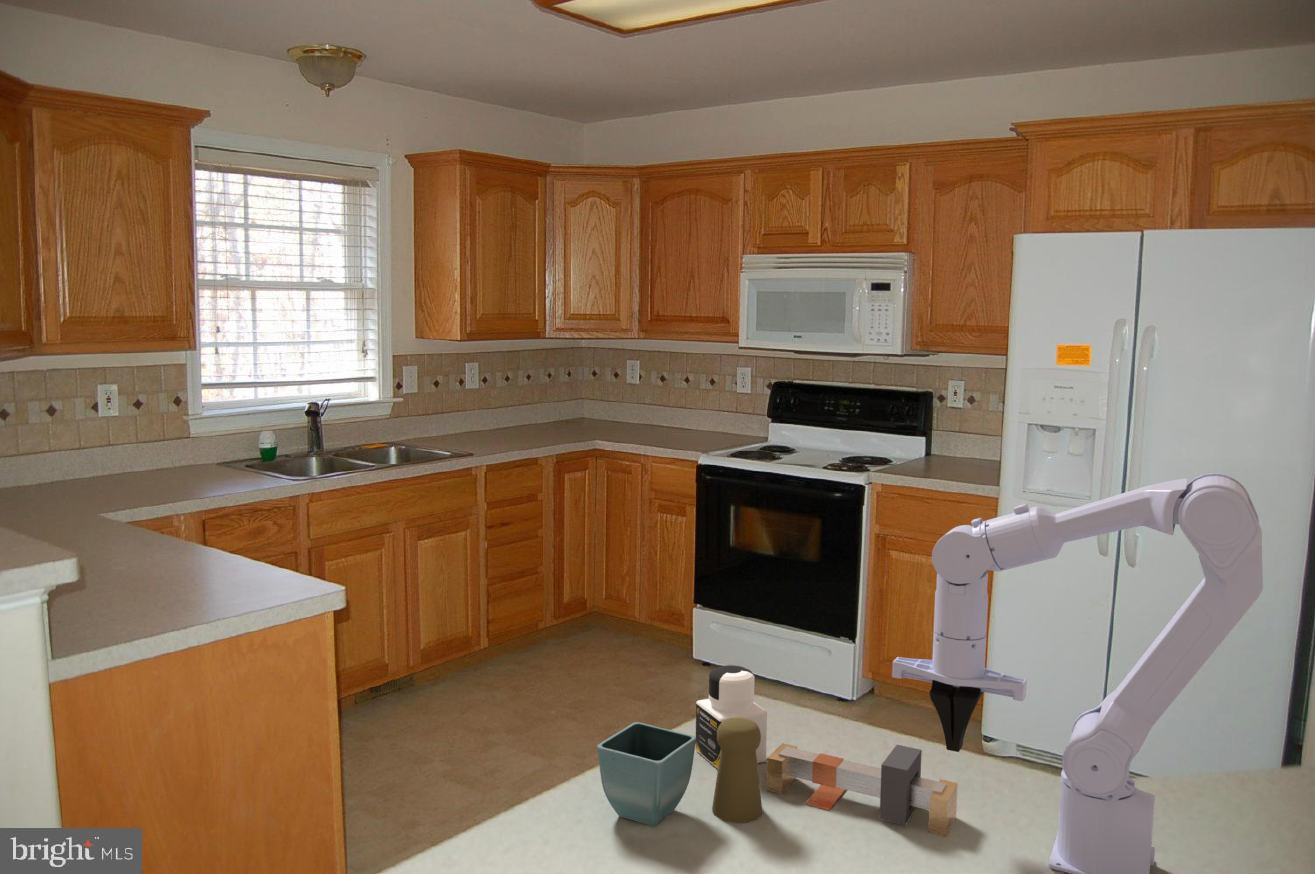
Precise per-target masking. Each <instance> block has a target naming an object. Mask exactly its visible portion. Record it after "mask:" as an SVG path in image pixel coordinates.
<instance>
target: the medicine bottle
mask: <svg viewBox="0 0 1315 874" xmlns="http://www.w3.org/2000/svg"><path fill="white" fill-rule="evenodd" d="M755 677H756V676H755V674H754V673H753V672H752V671H751V670H750V669H748V668H746V667H743V666H740V665H735V664H734V665H733V664H728V665H721V666H718V667H716V668H713V669H711V671H710V672H709V674H708V698H705V699H699V700H697V701H696V702H695V703H696V704H695V737H696V744H695V751H697V753H699V754H700V755H701V756H702V757H703V758H704V759H706V760H707V762H709V763H710V764H711V765H712V766H713V767H714V768H716V769H717V770H718V766H719V760H720V753H721V748H720V746H719V745H718V741H717V730H718V727H719V725H720V724H721V723H722V721H724V720H726V719H729V718H736V717H737V718H746V719H749V720H751V721H753V722H755V723H756V724H757V725H758V727H759V729H760V733H761V741H760V745H759V747H758V748H757V749H756V758H757V764H762V763H765V762H767V743H768V742H767V741H768V738H767V737H768V736H767V735H768V734H767V732H768V729H767V728H768V712H767V710H766V709H764V708H763V707H761V706H760V705H758V704H757V703H755Z"/></svg>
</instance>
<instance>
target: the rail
mask: <svg viewBox="0 0 1315 874" xmlns="http://www.w3.org/2000/svg"><path fill="white" fill-rule="evenodd" d="M796 779H801V780H804V781H809V782H811V783H813V784H816V785H819V786H818V787H817V789H816V790H815V791H814V792H813V793H812V795H811V796H810V797H809V798H808V799H807V800H806V802H805V805H807V806H811V807H814V808H818V809H822V810H826V811H830V810H832V808H833V806H834V805H835V804H836V802H837V801H838V800H839V799H840V798H841V797H842V795H843V794H844V793H845V791H849V792H853V793H858V794H862V795H867V796H869V797H875V798H878V799H880V792H881V767H878V766H877V767H876V766H872V765H868V764H865V763H864V764H863V763H859V762H856V761H850V760H847V759H844V758H843V757H839V756H838V757H837V756H833V755H829V754H825V753H821V752H820V753H816V752H812V751H809V750H808V751H807V750H802V749H798V746H797V745H792V744H789V743H784V742H782V743H781V744H780V745H779V746H778V747H777V748H776V749H775V750H774V751H772V752H771V753H770V755H768V757H766V791H768V792H774V793H776V794H779V795H782V794H783V793H784V792H785V791H786V790H787V789H788V788H789V787H790V786H791V784H792V783H793V782H794V781H795V780H796ZM957 800H958V782H955V781H950V780H946V779H939V781H938V780H933V779H929V778H924V777H916V776H914V777H913V779H912V780H911V782H910V793H909V805H910V806H914V807H916V808H918V809H922V810H926V811H928V833H933V834H935V835H936V834H937V835H940V836H944V837H947V836H948V834H949V832H950V830H951V828H952V826H953V824H954V823H955V820H956V818H957V808H958V807H957V804H958V803H957V802H958V801H957Z"/></svg>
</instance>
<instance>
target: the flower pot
mask: <svg viewBox="0 0 1315 874" xmlns="http://www.w3.org/2000/svg"><path fill="white" fill-rule="evenodd" d="M695 748H696V735H693V734H692V735H691V734H688V733H684V732H680V731H676V730H672V729H668V728H663V727H658V726H655V725H651V724H647V723H643V722H639V721H638V722H637V721H635V722H633V723H630V724H629V725H628V726H626V727H624V728H623V729H621V730H620V731H618V732H616V733H614V734H613V735H611V736H610V737H608V738H607V739H605V740H603V741H602V742H600V743H598V744H597V745H596V749H597V756H598V764H599V774H600V779H601V780H600V781H601V785H602V789H603V791H604V794H605V796H606V798H607V801H608V802H609V804H610V806H611V807H612V808H613V809H612V810H614V811H615V813H616V814H617V815H618V816H619V817H622V818H625V819H628V820H631V821H635V822H638V823H641V824H644V825H646V826H651V827H654V826H657V825H658V824H659V823H660V822H661V821H662V820H664V819H665V818H667V816H670V814H672V813H673V812H674V811H675V810H676V809H677V807H678V805H679V803H680V802H681V801H682V799H683V797H684V795H685V792H686V791H687V788H688V786H689V783H690V780H691V775H692V771H693V764H694V758H695V757H694V756H695V751H696V749H695Z"/></svg>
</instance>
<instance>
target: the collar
mask: <svg viewBox="0 0 1315 874" xmlns="http://www.w3.org/2000/svg"><path fill="white" fill-rule="evenodd" d="M922 752H923V751H922V749H919V748H915V747H910V746H905V745H901V744H896V745H895V746H894V748H893V749H892V750H891V752H890V753H889V754H888V756H886V758H885V760H884V761H883V762H882V763H881V765H880V766H881V767H880V768H881V792H880V798H879V799H880V800H879V820H883V821H887V822H890V823H893V824H894V823H895V824H897V825H902V826H906V825H907V823H909V820H910V818H911V817H912V815H913V814H914V812H915V810H916V809H917V807H914V806H910V805H909V793H910V782H911V780H912V779H913V777H914V776H916V777H921V774H922V773H921V771H922V754H923V753H922ZM921 778H922V777H921Z"/></svg>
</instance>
